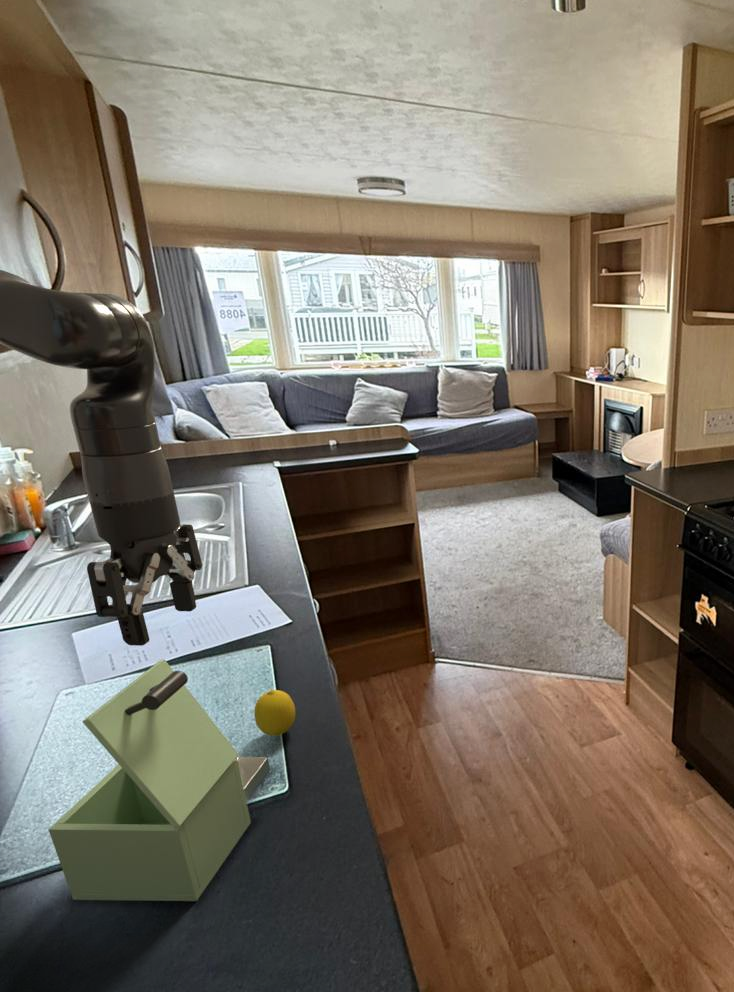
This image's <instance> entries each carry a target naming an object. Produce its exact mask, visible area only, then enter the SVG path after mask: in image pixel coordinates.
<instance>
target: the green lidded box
mask: <svg viewBox="0 0 734 992" xmlns="http://www.w3.org/2000/svg"><path fill="white" fill-rule="evenodd" d="M248 807H249V806H248V801H247V802H246V798H245V793H244V789H243V784H242V780H241V775H240V770H239V766H238V761H237V759H235V760H234V761H233V762H232V763H231V765H230V766H229V767H228V768H227V769H226V771H225V772H224V773H223V774H222V775H221V777H220V778H219V779H218V780H217V782H216V783H215V784H214V785H213V786H212V788H211V789H210V790H209V791H208V792H207V794H206V795H205V796H204V797H203V799H202V800H201V801H200V802H199V803H198V805H197V806H196V807H195V808H194V809H193V811H192V812H191V813H190V814H189V816H188V817H187V818H186V819H185V820H184V822H183V823H182V824H181V825H180V826H179V827H176V828H173V826H172V825H171V824H170V823H169V822H168V821H167V819H166V818H165V817H164V816H163V815H162V814H161V812H160V811H159V810H158V809H157V808H156V807H155V806H154V804H153V803H152V802H151V801H150V800H149V799H148V797H147V796H146V795H145V794H144V793H143V792H142V790H141V789H140V788H139V787H138V786H137V785H136V783H135V782H134V781H133V780H132V779H131V778H130V777H129V775H128V774H127V773H126V772H125V771H124V770H123V768H122V767H121V766H120V765H119V764H118V763H117V765H116V766H115V767H114V768H113V769H112V770H110V772H109V773H107V774H106V775H105V776H104V777H103V778H102V779H101V780H100V781H99V782H98V783H97V784H95V785H94V787H92V788H91V789H90V790H89V791H88V792H87V793H86V794H85V795H83V797H82V798H80V799H79V800H78V801H77V802H76V803H75V804H74V805H73V806H72V807H71V808H70V809H69V810H68V811H67V812H66V813H64V814H63V815H62V816H61V817H60V818H59V819H58V820H57V821H56V822H55V823H53V825H52V826H51V827H49V828H48V832H49V835H50V839H51V841H52V844H53V847H54V849H55V852H56V856H57V858H58V861H59V864H60V867H61V870H62V872H63V875H64V878H65V881H66V884H67V886H68V888H69V892H70V895H71V897H72V900H73V901H141V902H142V901H143V902H144V901H145V902H146V901H149V902H153V901H154V902H155V901H156V902H197V901H198V900H199V898H200V897H201V896H202V894H203V893H204V891H205V890H206V889H207V887H208V886H209V884H210V883H211V881H212V880H213V878H214V877H215V875H216V874H217V873H218V871H219V870H220V868H221V867H222V866H223V864H224V862H225V861H226V859H227V858H228V856H229V855H230V854H231V852H232V851H233V849H234V848H235V846H236V845H237V844H238V842H239V841H240V840H241V838H242V836H243V835H244V834H245V832H246V831H247V829H248V828H249V826H251V824H252V821H251V817H250V812H249V808H248Z"/></svg>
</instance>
